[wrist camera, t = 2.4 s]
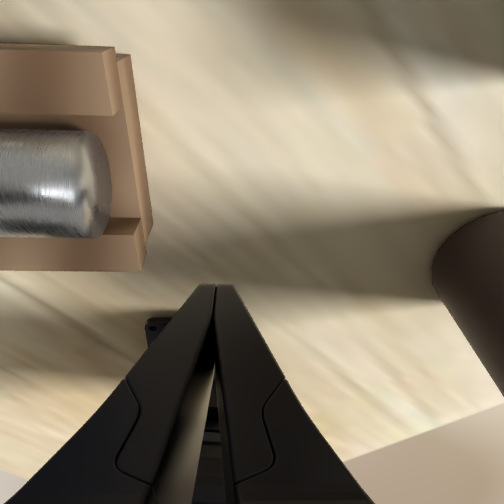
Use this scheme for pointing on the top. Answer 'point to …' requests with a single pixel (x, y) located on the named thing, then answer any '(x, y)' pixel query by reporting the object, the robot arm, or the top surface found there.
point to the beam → (80, 119)
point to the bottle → (476, 288)
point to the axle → (53, 184)
